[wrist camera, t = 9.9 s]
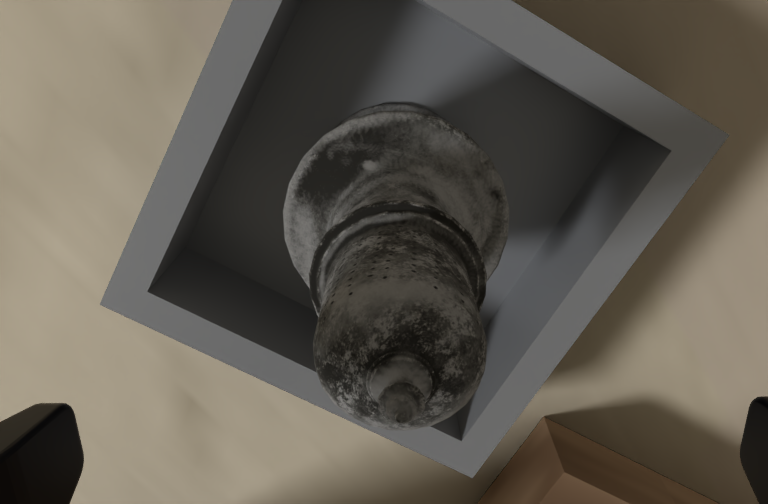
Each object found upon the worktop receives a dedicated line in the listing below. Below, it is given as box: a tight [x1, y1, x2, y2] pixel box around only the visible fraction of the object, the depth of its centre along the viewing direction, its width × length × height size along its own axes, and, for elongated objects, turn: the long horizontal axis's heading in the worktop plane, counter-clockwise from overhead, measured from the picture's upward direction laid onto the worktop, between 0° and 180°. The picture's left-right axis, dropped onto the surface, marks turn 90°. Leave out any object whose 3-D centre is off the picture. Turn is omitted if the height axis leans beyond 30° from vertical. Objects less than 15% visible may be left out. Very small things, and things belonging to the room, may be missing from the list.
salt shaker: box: [283, 103, 509, 430], centre depth 14 cm, size 6×6×12 cm
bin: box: [100, 0, 729, 478], centre depth 19 cm, size 12×12×4 cm
